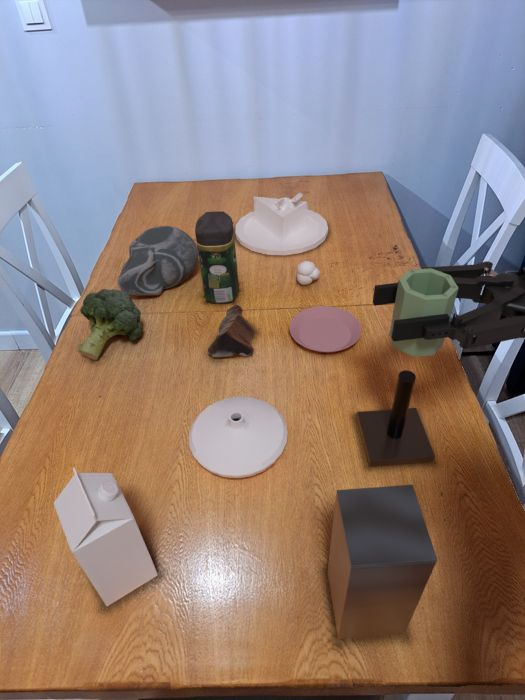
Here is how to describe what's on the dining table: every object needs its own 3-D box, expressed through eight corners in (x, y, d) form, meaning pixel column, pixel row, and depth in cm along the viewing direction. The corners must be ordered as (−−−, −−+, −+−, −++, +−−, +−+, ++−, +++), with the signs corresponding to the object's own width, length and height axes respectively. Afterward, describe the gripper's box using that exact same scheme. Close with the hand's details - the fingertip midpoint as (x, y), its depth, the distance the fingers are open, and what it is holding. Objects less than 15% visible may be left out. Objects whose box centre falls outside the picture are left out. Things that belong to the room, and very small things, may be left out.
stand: (404, 634, 58) (437, 559, 45) (337, 639, 58) (351, 566, 45) (387, 567, 64) (412, 484, 51) (327, 572, 64) (336, 489, 51)
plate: (275, 336, 99) (274, 329, 98) (319, 305, 107) (319, 297, 105) (330, 369, 92) (331, 361, 90) (374, 332, 99) (375, 325, 98)
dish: (345, 225, 133) (348, 184, 126) (291, 265, 119) (291, 223, 111) (273, 202, 145) (272, 164, 137) (216, 237, 131) (212, 197, 123)
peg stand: (433, 462, 76) (454, 399, 66) (369, 467, 76) (380, 404, 66) (414, 413, 83) (431, 350, 73) (356, 417, 83) (365, 354, 73)
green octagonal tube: (447, 354, 62) (464, 296, 56) (398, 357, 62) (409, 300, 56) (431, 323, 67) (445, 267, 61) (385, 326, 67) (395, 270, 61)
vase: (296, 416, 84) (296, 388, 79) (275, 496, 72) (274, 468, 68) (209, 401, 87) (204, 373, 82) (176, 476, 76) (168, 448, 71)
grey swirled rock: (114, 305, 111) (152, 258, 125) (179, 311, 107) (210, 262, 121) (98, 262, 103) (140, 217, 118) (167, 267, 99) (202, 220, 113)
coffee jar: (206, 281, 115) (196, 208, 103) (240, 280, 115) (233, 206, 103) (202, 306, 108) (191, 230, 96) (238, 305, 108) (231, 229, 95)
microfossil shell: (295, 277, 115) (295, 257, 111) (318, 276, 115) (319, 256, 111) (297, 288, 112) (297, 268, 108) (320, 287, 112) (321, 266, 108)
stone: (200, 345, 92) (217, 298, 103) (210, 367, 96) (225, 319, 107) (246, 341, 90) (258, 293, 101) (253, 363, 94) (264, 314, 104)
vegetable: (54, 340, 98) (95, 279, 102) (109, 373, 103) (147, 314, 107) (60, 338, 87) (106, 270, 91) (122, 375, 92) (163, 309, 96)
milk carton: (107, 608, 62) (59, 534, 49) (89, 561, 66) (41, 483, 54) (158, 576, 64) (126, 498, 52) (137, 533, 69) (103, 452, 56)
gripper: (594, 364, 58) (407, 389, 56) (509, 274, 72) (358, 292, 71) (623, 314, 53) (419, 340, 51) (525, 228, 67) (363, 246, 66)
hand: (384, 312), depth 61 cm, fingers closed on green octagonal tube, 7 cm apart
